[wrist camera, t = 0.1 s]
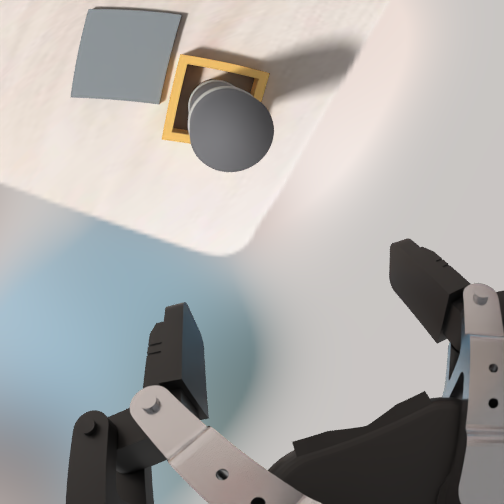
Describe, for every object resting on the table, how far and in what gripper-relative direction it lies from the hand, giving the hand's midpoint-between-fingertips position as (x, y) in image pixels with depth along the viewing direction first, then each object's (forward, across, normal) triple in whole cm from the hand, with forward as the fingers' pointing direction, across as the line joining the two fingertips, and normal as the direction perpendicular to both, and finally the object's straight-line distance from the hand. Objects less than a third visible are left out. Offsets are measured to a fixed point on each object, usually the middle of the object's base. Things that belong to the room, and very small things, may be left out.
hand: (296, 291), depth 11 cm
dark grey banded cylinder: (+22, +1, -7) cm, 23 cm away
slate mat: (+20, +7, -14) cm, 26 cm away
